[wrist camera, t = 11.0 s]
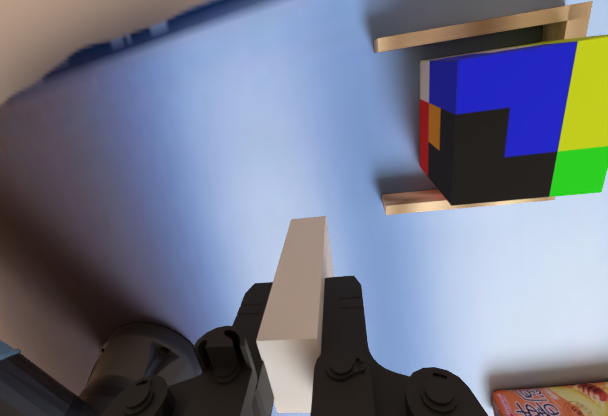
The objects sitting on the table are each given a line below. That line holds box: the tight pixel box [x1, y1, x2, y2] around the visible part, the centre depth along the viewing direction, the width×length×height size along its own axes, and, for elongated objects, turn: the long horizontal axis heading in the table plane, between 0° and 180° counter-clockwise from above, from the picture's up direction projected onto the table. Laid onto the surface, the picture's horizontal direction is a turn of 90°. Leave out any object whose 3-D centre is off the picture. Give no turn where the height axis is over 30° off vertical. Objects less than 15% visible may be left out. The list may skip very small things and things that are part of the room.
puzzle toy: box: [420, 35, 608, 206], centre depth 25 cm, size 10×10×10 cm
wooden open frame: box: [374, 1, 593, 215], centre depth 29 cm, size 16×16×3 cm
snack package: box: [492, 381, 608, 416], centre depth 41 cm, size 21×7×7 cm, turn 106°
